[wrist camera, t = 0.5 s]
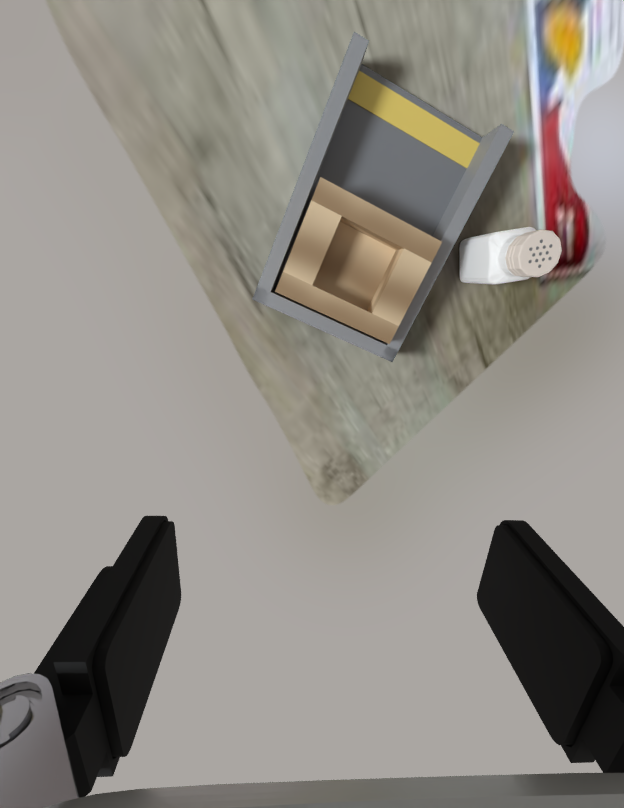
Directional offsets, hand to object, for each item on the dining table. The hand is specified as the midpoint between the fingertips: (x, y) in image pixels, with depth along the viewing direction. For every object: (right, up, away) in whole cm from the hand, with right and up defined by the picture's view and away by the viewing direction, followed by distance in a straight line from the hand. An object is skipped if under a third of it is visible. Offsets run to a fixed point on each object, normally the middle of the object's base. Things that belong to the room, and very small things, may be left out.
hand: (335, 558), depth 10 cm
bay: (+4, +21, +23) cm, 31 cm away
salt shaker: (+15, +19, +25) cm, 34 cm away
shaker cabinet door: (+3, +17, +23) cm, 29 cm away
